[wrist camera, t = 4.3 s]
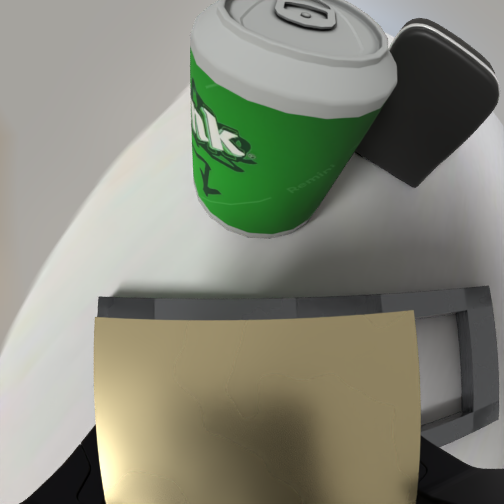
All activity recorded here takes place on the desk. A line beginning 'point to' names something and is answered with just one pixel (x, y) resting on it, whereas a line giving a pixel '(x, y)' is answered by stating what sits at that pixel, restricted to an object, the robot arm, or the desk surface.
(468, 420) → the grey rectangular frame
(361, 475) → the block
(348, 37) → the soda can
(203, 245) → the desk surface
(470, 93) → the battery charger
